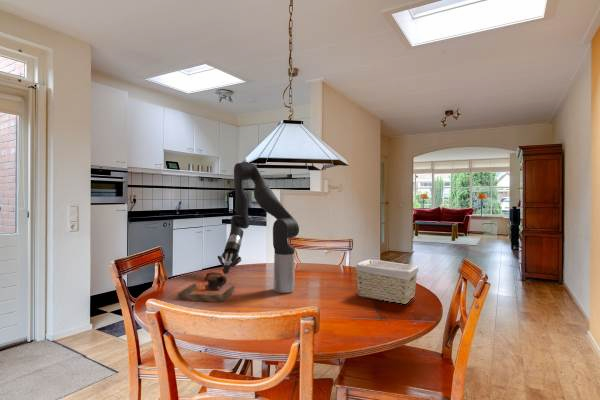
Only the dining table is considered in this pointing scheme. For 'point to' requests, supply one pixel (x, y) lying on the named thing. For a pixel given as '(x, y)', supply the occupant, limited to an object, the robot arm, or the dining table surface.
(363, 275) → the storage basket
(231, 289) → the wooden corral
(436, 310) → the dining table surface
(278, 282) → the robot arm
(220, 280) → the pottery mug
